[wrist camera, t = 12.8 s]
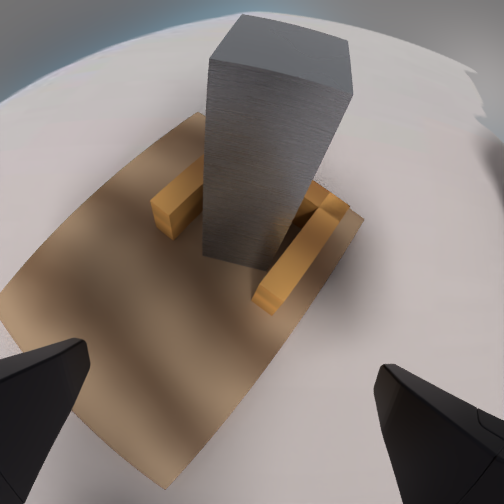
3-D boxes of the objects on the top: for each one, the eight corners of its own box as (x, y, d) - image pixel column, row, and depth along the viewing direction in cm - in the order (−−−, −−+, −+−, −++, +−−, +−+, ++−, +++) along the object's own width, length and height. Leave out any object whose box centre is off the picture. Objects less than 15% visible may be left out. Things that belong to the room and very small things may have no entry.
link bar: (266, 271, 19) (353, 94, 7) (202, 255, 19) (209, 58, 7) (277, 216, 21) (347, 40, 9) (218, 202, 21) (242, 14, 9)
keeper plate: (167, 484, 14) (157, 507, 10) (-2, 308, 16) (-34, 290, 12) (358, 226, 23) (383, 196, 19) (197, 120, 25) (198, 83, 21)
